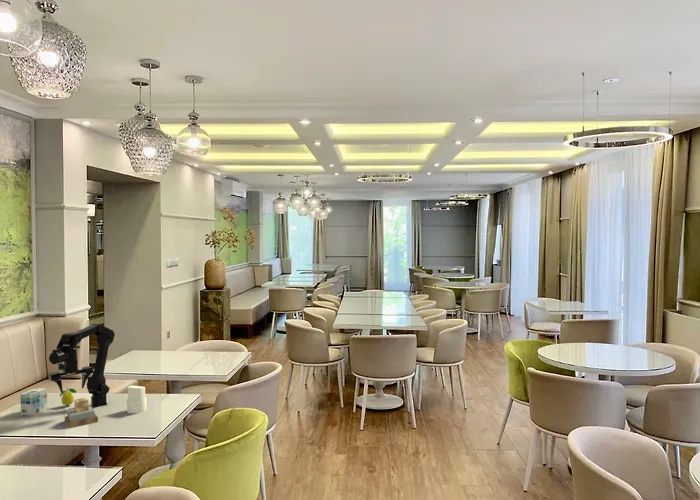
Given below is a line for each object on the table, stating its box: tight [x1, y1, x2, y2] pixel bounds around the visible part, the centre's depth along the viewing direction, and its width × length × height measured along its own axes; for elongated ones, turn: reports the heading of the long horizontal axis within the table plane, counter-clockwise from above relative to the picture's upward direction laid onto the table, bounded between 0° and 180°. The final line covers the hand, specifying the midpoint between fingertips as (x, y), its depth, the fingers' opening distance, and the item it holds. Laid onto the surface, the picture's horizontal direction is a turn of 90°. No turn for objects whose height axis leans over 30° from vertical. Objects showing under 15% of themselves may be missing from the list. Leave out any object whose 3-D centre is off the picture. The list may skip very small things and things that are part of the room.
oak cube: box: [73, 397, 89, 412], centre depth 246 cm, size 5×5×5 cm
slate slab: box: [66, 405, 95, 422], centre depth 246 cm, size 10×10×3 cm
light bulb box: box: [19, 387, 49, 417], centre depth 261 cm, size 11×7×11 cm, turn 168°
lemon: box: [59, 387, 77, 407], centre depth 270 cm, size 7×6×10 cm
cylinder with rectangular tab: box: [126, 385, 148, 414], centre depth 260 cm, size 9×9×12 cm
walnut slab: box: [64, 413, 99, 429], centre depth 246 cm, size 12×12×3 cm
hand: (72, 390), depth 253 cm, fingers open, 9 cm apart
